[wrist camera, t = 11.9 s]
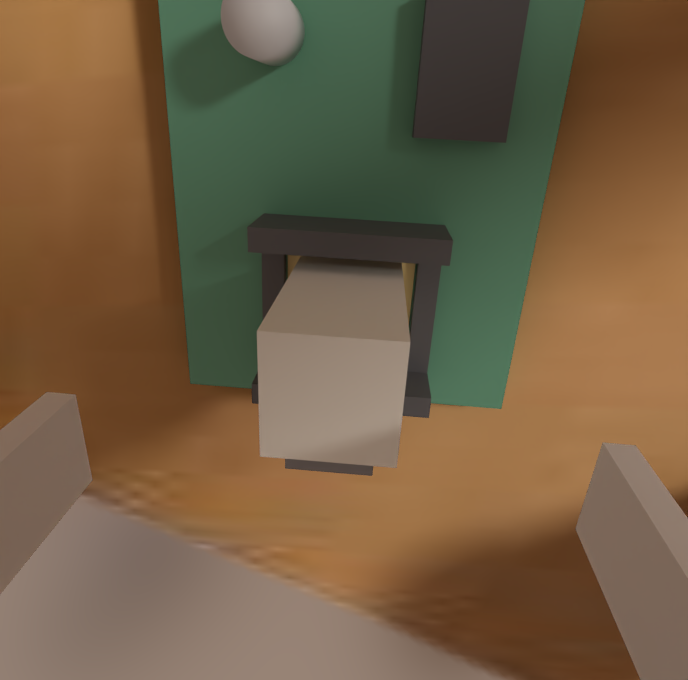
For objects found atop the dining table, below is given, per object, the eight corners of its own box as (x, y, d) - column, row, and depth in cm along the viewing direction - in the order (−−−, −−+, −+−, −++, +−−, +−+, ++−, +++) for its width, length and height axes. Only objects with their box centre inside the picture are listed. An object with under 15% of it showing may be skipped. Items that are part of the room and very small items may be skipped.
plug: (302, 253, 23) (256, 331, 15) (401, 260, 23) (410, 342, 15) (300, 358, 25) (260, 475, 17) (391, 365, 25) (394, 487, 17)
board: (165, -89, 20) (108, -142, 16) (587, -73, 19) (643, -125, 15) (199, 370, 28) (168, 414, 24) (495, 393, 27) (515, 443, 23)
